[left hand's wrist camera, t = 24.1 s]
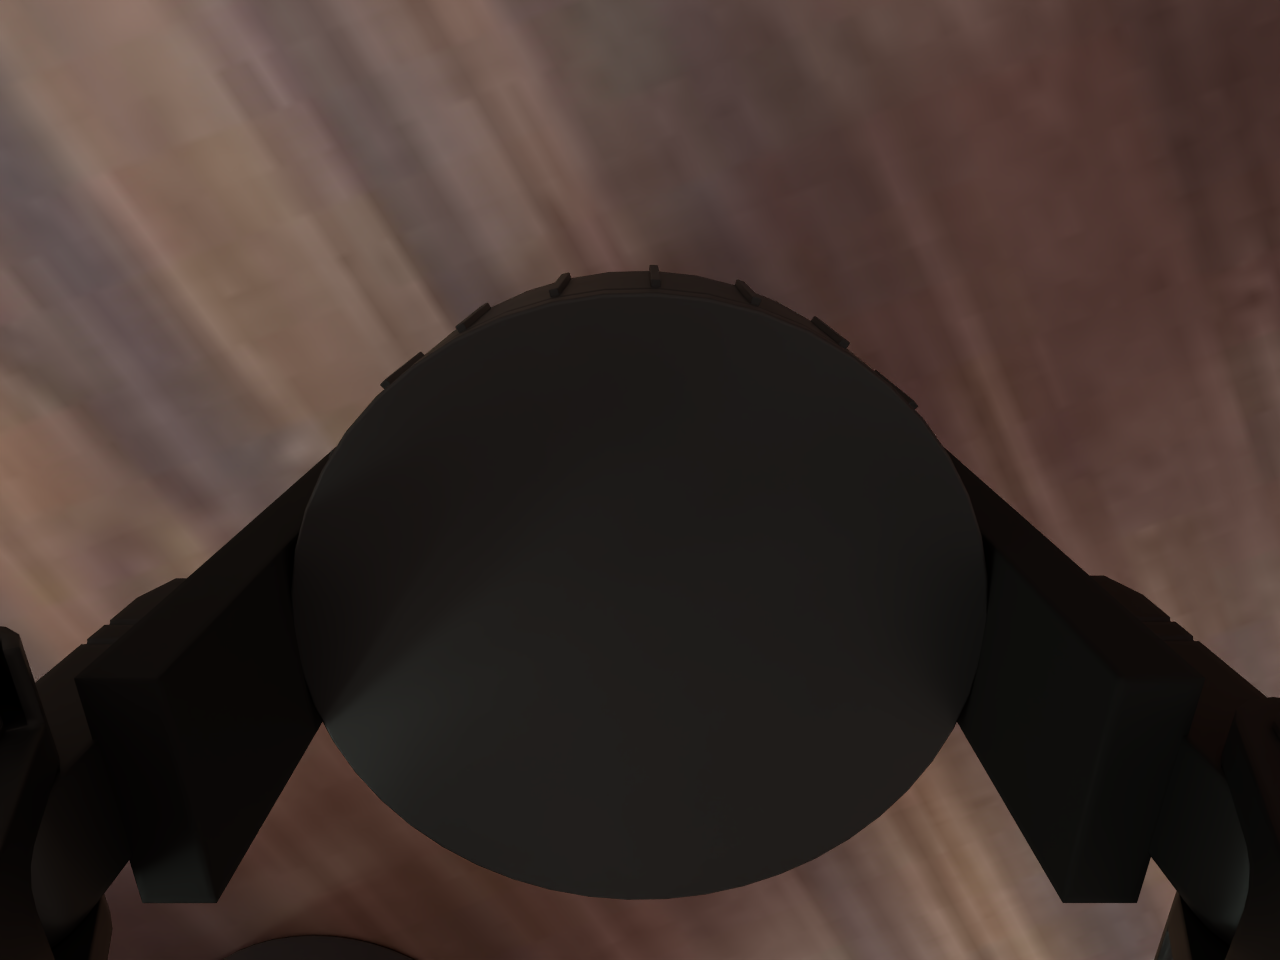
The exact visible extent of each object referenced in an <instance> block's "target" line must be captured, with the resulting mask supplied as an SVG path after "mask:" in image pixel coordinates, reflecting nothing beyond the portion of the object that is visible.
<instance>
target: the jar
mask: <svg viewBox="0 0 1280 960" xmlns="http://www.w3.org/2000/svg"><path fill="white" fill-rule="evenodd" d="M223 960H414V959H412V958H409V957H407V956H405V955H403V954H401V953H398V952H396V951H394V950H391V949H388V948H385V947H382V946H379V945H376V944H372V943H368V942H364V941H359V940H355V939H348V938H341V937H334V936H295V937H287V938H280V939H274V940H270V941H266V942H262V943H259V944H255V945H252V946H250V947H247V948H245V949H242V950H240V951H237V952H236V953H234V954H232V955H230V956H229V957H227V958H225V959H223Z"/></svg>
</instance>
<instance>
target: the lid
mask: <svg viewBox="0 0 1280 960" xmlns="http://www.w3.org/2000/svg"><path fill="white" fill-rule="evenodd" d="M456 329H457V330H455V331H454V332H452V333H451V334H450V335H449V336H447V337H446V338H445V339H444V340H443V341H441V342H440V343H439V344H438V345H436V346H435V347H434V348H433V349H432V350H430V351H429V352H428V353H427V354H425V355H424V354H423V353H422V352H419V353H418V354H417V355H416V356H414V357H413V358H412V359H411V360H409V361H408V362H407V363H405V364H404V365H403V366H402V367H400V368H399V369H398V370H397V371H395V372H394V373H393V374H391V375H390V376H389V377H388V378H386V379H385V380H384V381H383V382H382V383H381V384H380V385H381V386H382V387H383V388H384V390H383V391H382V392H381V393H380V394H379V395H377V396H376V397H375V398H374V400H373V401H372V402H371V403H370V404H369V405H368V407H367V408H366V409H365V410H364V411H363V412H362V414H361V415H360V416H359V417H358V418H357V419H356V421H355V422H354V423H353V424H352V425H351V426H350V428H349V429H348V430H347V431H346V432H345V434H344V436H343V437H342V439H341V440H340V442H339V444H338V445H337V446H336V447H335V448H334V449H333V450H332V451H331V453H330V455H329V460H328V461H327V463H326V465H325V466H324V468H323V469H322V471H321V474H320V476H319V478H318V481H317V483H316V486H315V488H314V490H313V493H312V495H311V497H310V500H309V502H308V504H307V507H306V509H305V512H304V516H303V520H302V524H301V528H300V532H299V536H298V540H297V544H296V548H295V554H294V565H293V576H292V586H291V599H292V615H293V621H294V627H295V634H296V639H297V644H298V650H299V655H300V660H301V666H302V671H303V675H304V678H305V681H306V684H307V687H308V689H309V692H310V695H311V698H312V700H313V703H314V706H315V708H316V710H317V712H318V714H319V715H320V717H321V719H322V721H323V723H324V725H325V727H326V729H327V730H328V732H329V734H330V736H331V738H332V740H333V742H334V743H335V744H336V746H337V747H338V749H339V750H340V751H341V753H342V754H343V755H344V757H345V758H346V760H347V761H348V762H349V764H350V765H351V767H352V768H353V769H354V771H355V772H356V773H357V774H358V775H359V777H360V778H361V779H362V780H363V781H364V782H365V783H366V784H367V785H368V786H369V787H370V788H371V790H372V791H373V792H374V793H375V794H376V795H377V796H378V797H379V798H380V799H381V800H382V801H383V802H384V803H385V804H386V805H388V806H389V807H390V808H391V809H392V810H393V811H395V812H396V813H397V814H398V815H399V816H400V817H402V818H403V819H404V820H405V821H406V822H407V823H409V824H410V825H411V826H413V827H414V828H416V829H417V830H418V831H420V832H421V833H423V834H424V835H426V836H427V837H429V838H430V839H432V840H433V841H435V842H436V843H438V844H439V845H441V846H442V847H444V848H446V849H448V850H450V851H452V852H454V853H455V854H457V855H459V856H461V857H463V858H465V859H467V860H469V861H471V862H473V863H475V864H476V865H479V866H481V867H484V868H486V869H489V870H491V871H494V872H496V873H499V874H501V875H504V876H506V877H509V878H512V879H514V880H518V881H521V882H525V883H529V884H532V885H536V886H539V887H543V888H546V889H550V890H555V891H560V892H566V893H572V894H577V895H583V896H588V897H601V898H613V899H626V900H634V899H670V898H679V897H687V896H696V895H704V894H709V893H714V892H719V891H723V890H728V889H732V888H737V887H742V886H745V885H748V884H751V883H754V882H757V881H761V880H764V879H767V878H770V877H773V876H776V875H779V874H781V873H784V872H786V871H788V870H791V869H793V868H795V867H797V866H800V865H802V864H804V863H806V862H809V861H811V860H813V859H815V858H817V857H819V856H821V855H822V854H824V853H826V852H827V851H829V850H831V849H833V848H834V847H836V846H838V845H840V844H841V843H843V842H845V841H847V840H848V839H850V838H851V837H852V836H854V835H855V834H857V833H858V832H859V831H861V830H862V829H863V828H865V827H866V826H867V825H869V824H870V823H872V822H873V821H874V820H876V819H877V818H878V817H880V816H881V815H882V814H883V813H884V812H885V811H886V810H887V809H888V808H889V807H890V806H892V805H893V804H894V803H895V802H896V801H897V800H898V799H899V798H900V797H901V796H902V795H903V794H904V793H906V792H907V791H908V790H909V788H910V787H911V786H912V785H913V784H914V782H915V781H916V780H917V779H918V778H919V777H920V775H921V774H922V773H923V772H924V771H925V769H926V768H927V767H928V766H929V765H930V763H931V762H932V761H933V760H934V758H935V757H936V755H937V753H938V752H939V750H940V749H941V747H942V746H943V744H944V743H945V741H946V740H947V738H948V736H949V735H950V733H951V732H952V730H953V729H954V727H955V724H956V722H957V720H958V718H959V716H960V714H961V712H962V710H963V707H964V705H965V703H966V701H967V699H968V697H969V695H970V692H971V689H972V685H973V682H974V679H975V676H976V672H977V667H978V662H979V658H980V652H981V646H982V641H983V635H984V629H985V624H986V618H987V611H988V575H987V568H986V562H985V555H984V549H983V542H982V536H981V532H980V529H979V526H978V523H977V520H976V516H975V513H974V510H973V507H972V504H971V501H970V497H969V494H968V492H967V490H966V488H965V486H964V484H963V482H962V480H961V478H960V476H959V474H958V472H957V470H956V468H955V466H954V464H953V462H952V460H951V458H950V456H949V455H948V453H947V452H946V450H945V449H944V447H943V446H942V445H941V443H940V442H939V440H938V439H937V438H936V436H935V435H934V433H933V432H932V430H931V429H930V428H929V426H928V425H927V423H926V422H925V420H924V419H923V418H922V417H921V416H920V415H919V414H918V413H917V412H916V411H915V410H914V409H916V408H917V407H918V405H917V404H916V403H915V402H914V400H912V399H911V398H910V397H909V396H907V395H906V394H905V393H904V392H902V391H901V390H900V389H899V388H898V387H896V386H895V385H894V384H893V383H891V382H890V381H889V380H888V379H886V378H885V377H884V376H883V375H881V374H880V373H879V372H878V371H873V370H872V369H871V368H870V367H869V366H867V365H866V364H865V363H864V362H862V361H861V360H860V359H859V358H858V357H856V356H855V355H854V354H853V353H851V352H850V351H849V350H848V349H847V347H848V345H849V344H850V343H849V342H848V341H847V340H846V339H844V338H843V337H842V336H840V335H839V334H838V333H837V332H835V331H834V330H833V329H831V328H830V327H829V326H828V325H826V324H825V323H824V322H823V321H821V320H820V319H818V318H817V317H815V316H814V318H813V319H812V320H811V321H810V320H808V319H806V318H804V317H803V316H801V315H799V314H798V313H796V312H794V311H792V310H791V309H789V308H787V307H785V306H784V305H782V304H780V303H778V302H776V301H774V300H771V299H769V298H766V297H764V296H761V295H759V294H756V293H755V292H754V291H753V290H752V289H751V288H750V287H749V286H748V285H747V284H746V283H745V282H743V281H740V280H736V283H735V285H731V284H727V283H723V282H719V281H715V280H711V279H707V278H703V277H699V276H694V275H685V274H676V273H667V272H659V269H658V266H657V265H650V267H649V271H633V272H607V273H601V274H595V275H589V276H583V277H576V278H571V277H570V273H565V274H562V275H561V276H560V277H559V278H558V280H557V281H556V282H555V283H552V284H549V285H546V286H543V287H539V288H536V289H533V290H529V291H526V292H524V293H522V294H520V295H518V296H515V297H513V298H511V299H509V300H507V301H505V302H502V303H500V304H498V305H496V306H494V307H492V308H491V307H490V305H489V304H488V303H486V304H484V305H482V306H481V307H479V308H478V309H477V310H476V311H474V312H473V313H472V314H471V315H469V316H468V317H467V318H466V319H464V320H463V321H462V322H461V323H459V324H458V325H457V326H456Z"/></svg>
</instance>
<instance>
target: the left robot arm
mask: <svg viewBox="0 0 1280 960" xmlns="http://www.w3.org/2000/svg"><path fill="white" fill-rule="evenodd" d="M944 449H945V448H944ZM945 450H946V449H945ZM946 452H947V453H948V455H949V456H950V458H951V460H952V462H953V464H954V466H955V468H956V470H957V472H958V474H959V476H960V478H961V480H962V482H963V484H964V486H965V488H966V490H967V492H968V494H969V497H970V501H971V504H972V507H973V510H974V513H975V516H976V520H977V523H978V526H979V529H980V532H981V536H982V542H983V549H984V555H985V562H986V568H987V575H988V611H987V618H986V624H985V629H984V635H983V641H982V646H981V652H980V658H979V662H978V667H977V672H976V676H975V679H974V682H973V685H972V689H971V692H970V695H969V697H968V699H967V701H966V703H965V705H964V707H963V710H962V712H961V714H960V716H959V718H958V720H957V723H958V724H959V726H960V728H961V729H962V731H963V733H964V734H965V736H966V738H967V740H968V741H969V743H970V745H971V746H972V748H973V750H974V752H975V753H976V755H977V757H978V758H979V760H980V762H981V764H982V765H983V767H984V769H985V770H986V772H987V774H988V776H989V777H990V779H991V781H992V782H993V784H994V786H995V788H996V789H997V791H998V793H999V794H1000V796H1001V798H1002V800H1003V801H1004V803H1005V805H1006V806H1007V808H1008V810H1009V812H1010V813H1011V815H1012V817H1013V818H1014V820H1015V822H1016V824H1017V825H1018V827H1019V829H1020V830H1021V832H1022V834H1023V836H1024V837H1025V839H1026V841H1027V842H1028V844H1029V846H1030V847H1031V849H1032V851H1033V853H1034V854H1035V856H1036V858H1037V859H1038V861H1039V863H1040V865H1041V866H1042V868H1043V870H1044V871H1045V873H1046V875H1047V877H1048V878H1049V880H1050V882H1051V883H1052V885H1053V887H1054V889H1055V890H1056V892H1057V894H1058V895H1059V897H1060V899H1061V901H1062V902H1063V903H1137V901H1138V897H1139V894H1140V891H1141V888H1142V884H1143V881H1144V878H1145V875H1146V871H1147V868H1148V865H1149V862H1150V858H1151V857H1152V858H1153V860H1154V861H1155V862H1156V864H1157V865H1158V866H1159V868H1160V869H1161V870H1162V872H1163V873H1164V874H1165V876H1166V877H1167V878H1168V880H1169V881H1170V882H1171V884H1172V885H1173V886H1174V888H1175V889H1176V890H1177V892H1176V895H1175V898H1174V901H1173V904H1172V907H1171V910H1170V913H1169V916H1168V919H1167V922H1166V925H1165V928H1164V931H1163V934H1162V937H1161V941H1160V944H1159V947H1158V950H1157V953H1156V956H1155V959H1154V960H1280V698H1277V697H1269V698H1267V697H1266V696H1265V695H1263V694H1262V693H1261V692H1260V691H1259V690H1257V689H1256V688H1255V687H1254V686H1253V685H1251V684H1250V683H1249V682H1248V681H1246V680H1245V679H1244V678H1243V677H1242V676H1240V675H1239V674H1238V673H1237V672H1236V671H1234V670H1233V669H1232V668H1231V667H1230V666H1228V665H1227V664H1226V663H1225V662H1224V661H1222V660H1221V659H1220V658H1219V657H1217V656H1216V655H1215V654H1214V653H1213V652H1211V651H1210V650H1209V649H1208V648H1207V647H1205V646H1204V645H1203V644H1202V643H1201V642H1199V641H1193V636H1192V635H1191V634H1190V633H1188V632H1187V631H1186V630H1185V629H1184V628H1182V627H1181V626H1180V625H1179V624H1178V623H1176V622H1171V621H1170V617H1169V616H1168V615H1167V614H1165V613H1164V612H1163V611H1162V610H1161V609H1159V608H1158V607H1157V606H1156V605H1155V604H1153V603H1152V602H1151V601H1150V600H1149V599H1147V598H1146V597H1145V596H1144V595H1142V594H1140V593H1138V592H1136V591H1134V590H1132V589H1130V588H1128V587H1126V586H1124V585H1122V584H1120V583H1118V582H1116V581H1114V580H1112V579H1110V578H1108V577H1106V576H1089V575H1088V574H1087V573H1086V572H1085V571H1083V570H1082V569H1081V568H1080V567H1079V566H1078V565H1077V564H1076V563H1074V562H1073V561H1072V560H1071V559H1070V558H1069V557H1068V556H1066V555H1065V554H1064V553H1063V552H1062V551H1061V550H1060V549H1059V548H1057V547H1056V546H1055V545H1054V544H1053V543H1052V542H1051V541H1049V540H1048V539H1047V538H1046V537H1045V536H1044V535H1043V534H1042V533H1040V532H1039V531H1038V530H1037V529H1036V528H1035V527H1034V526H1032V525H1031V524H1030V523H1029V522H1028V521H1027V520H1026V519H1025V518H1023V517H1022V516H1021V515H1020V514H1019V513H1018V512H1017V511H1015V510H1014V509H1013V508H1012V507H1011V506H1010V505H1009V504H1008V503H1006V502H1005V501H1004V500H1003V499H1002V498H1001V497H1000V496H998V495H997V494H996V493H995V492H994V491H993V490H992V489H991V488H989V487H988V486H987V485H986V484H985V483H984V482H983V481H981V480H980V479H979V478H978V477H977V476H976V475H975V474H974V473H972V472H971V471H970V470H969V469H968V468H967V467H966V466H964V465H963V464H962V463H961V462H960V461H959V460H958V459H957V458H955V457H954V456H953V455H952V454H951V453H950V452H949V451H947V450H946ZM330 453H331V452H330ZM330 453H329V454H327V455H326V456H325V457H324V458H323V459H322V460H321V461H320V462H318V463H317V464H316V465H315V466H314V467H313V468H312V469H310V470H309V471H308V472H307V473H306V474H305V475H304V476H303V477H301V478H300V479H299V480H298V481H297V482H296V483H295V484H293V485H292V486H291V487H290V488H289V489H288V490H287V491H286V492H284V493H283V494H282V495H281V496H280V497H279V498H278V499H276V500H275V501H274V502H273V503H272V504H271V505H270V506H269V507H267V508H266V509H265V510H264V511H263V512H262V513H261V514H259V515H258V516H257V517H256V518H255V519H254V520H253V521H252V522H250V523H249V524H248V525H247V526H246V527H245V528H244V529H242V530H241V531H240V532H239V533H238V534H237V535H236V536H235V537H233V538H232V539H231V540H230V541H229V542H228V543H227V544H225V545H224V546H223V547H222V548H221V549H220V550H219V551H218V552H216V553H215V554H214V555H213V556H212V557H211V558H210V559H208V560H207V561H206V562H205V563H204V564H203V565H202V566H201V567H199V568H198V569H197V570H196V571H195V572H194V573H193V574H191V575H190V576H189V577H188V578H176V579H174V580H172V581H170V582H168V583H166V584H164V585H162V586H160V587H158V588H156V589H154V590H152V591H150V592H148V593H146V594H144V595H142V596H140V597H138V598H136V599H135V600H134V601H133V602H132V603H130V604H129V605H128V606H127V607H126V608H124V609H123V610H122V611H121V612H120V613H118V614H117V615H116V616H115V617H114V618H112V619H111V620H110V625H104V626H103V627H102V628H100V629H99V630H98V631H97V632H96V633H94V634H93V635H92V636H91V637H90V638H88V639H87V644H81V645H80V646H79V647H78V648H76V649H75V650H74V651H73V652H72V653H70V654H69V655H68V656H67V657H66V658H64V659H63V660H62V661H61V662H60V663H58V664H57V665H56V666H55V667H54V668H52V669H51V670H50V671H49V672H48V673H46V674H45V675H44V676H43V677H42V678H40V679H39V680H38V681H37V682H36V683H35V681H34V678H33V675H32V672H31V669H30V666H29V663H28V660H27V657H26V654H25V651H24V648H23V645H22V642H21V639H20V636H19V634H17V633H16V632H14V631H12V630H10V629H9V628H7V627H2V626H0V960H107V959H108V953H109V947H110V941H111V935H112V922H111V915H110V910H109V907H108V904H107V901H106V898H105V895H104V893H105V892H106V890H107V889H108V888H109V886H110V885H111V884H112V882H113V881H114V880H115V878H116V877H117V876H118V874H119V873H120V872H121V870H122V869H123V868H124V866H125V865H126V864H127V862H128V861H129V860H130V864H131V867H132V870H133V873H134V877H135V880H136V883H137V886H138V890H139V893H140V896H141V899H142V903H217V901H218V900H219V898H220V896H221V895H222V893H223V891H224V889H225V888H226V886H227V884H228V883H229V881H230V879H231V877H232V876H233V874H234V872H235V871H236V869H237V867H238V865H239V864H240V862H241V860H242V859H243V857H244V855H245V853H246V852H247V850H248V848H249V847H250V845H251V843H252V841H253V840H254V838H255V836H256V835H257V833H258V831H259V829H260V828H261V826H262V824H263V823H264V821H265V819H266V818H267V816H268V814H269V812H270V811H271V809H272V807H273V806H274V804H275V802H276V800H277V799H278V797H279V795H280V794H281V792H282V790H283V788H284V787H285V785H286V783H287V782H288V780H289V778H290V776H291V775H292V773H293V771H294V770H295V768H296V766H297V764H298V763H299V761H300V759H301V758H302V756H303V754H304V752H305V751H306V749H307V747H308V746H309V744H310V742H311V740H312V739H313V737H314V735H315V734H316V732H317V730H318V728H319V727H320V725H321V723H322V722H323V721H322V719H321V717H320V715H319V714H318V712H317V710H316V708H315V706H314V703H313V700H312V698H311V695H310V692H309V689H308V687H307V684H306V681H305V678H304V675H303V671H302V666H301V660H300V655H299V650H298V644H297V639H296V634H295V627H294V621H293V615H292V599H291V586H292V576H293V565H294V554H295V548H296V544H297V540H298V536H299V532H300V528H301V524H302V520H303V516H304V512H305V509H306V507H307V504H308V502H309V500H310V497H311V495H312V493H313V490H314V488H315V486H316V483H317V481H318V478H319V476H320V474H321V471H322V469H323V468H324V466H325V465H326V463H327V461H328V460H329V455H330Z"/></svg>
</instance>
